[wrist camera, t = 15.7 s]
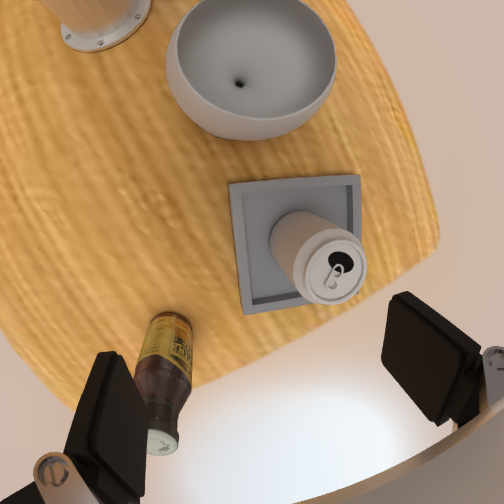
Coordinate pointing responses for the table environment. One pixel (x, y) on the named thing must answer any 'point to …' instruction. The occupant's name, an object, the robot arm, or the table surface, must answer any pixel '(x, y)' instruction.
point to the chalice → (250, 66)
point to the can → (318, 257)
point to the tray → (267, 216)
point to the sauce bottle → (165, 379)
